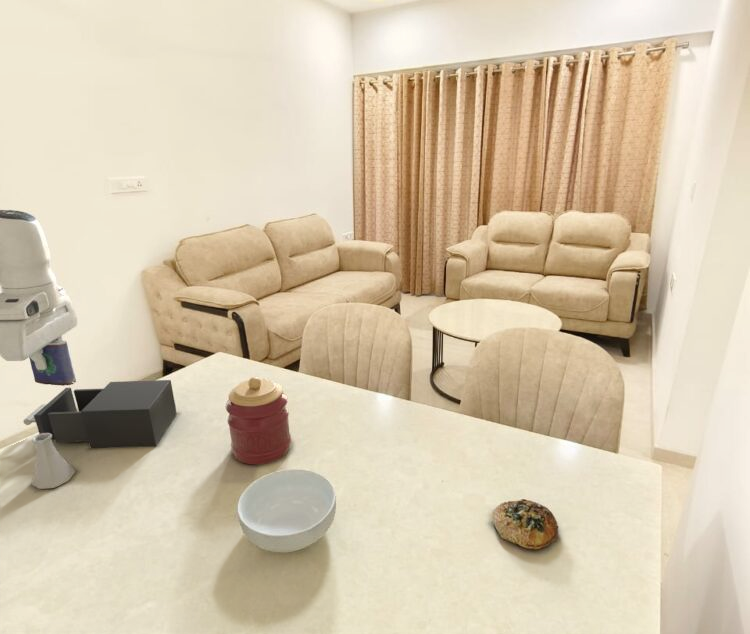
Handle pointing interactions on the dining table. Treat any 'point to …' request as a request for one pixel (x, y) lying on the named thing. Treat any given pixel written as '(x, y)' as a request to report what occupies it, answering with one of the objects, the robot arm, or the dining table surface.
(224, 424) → the dining table surface
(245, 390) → the kitchen canister
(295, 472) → the cereal bowl
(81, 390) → the open drawer
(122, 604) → the dining table surface
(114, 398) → the dark grey box
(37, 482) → the flask
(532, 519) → the bread roll
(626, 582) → the dining table surface
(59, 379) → the flask
